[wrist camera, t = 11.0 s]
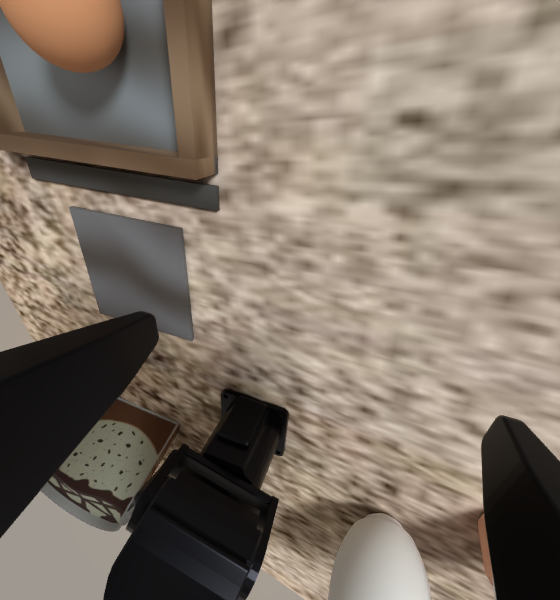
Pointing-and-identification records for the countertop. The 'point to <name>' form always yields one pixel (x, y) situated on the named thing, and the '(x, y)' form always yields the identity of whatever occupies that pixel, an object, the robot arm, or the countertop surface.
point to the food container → (112, 465)
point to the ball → (69, 30)
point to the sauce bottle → (378, 563)
